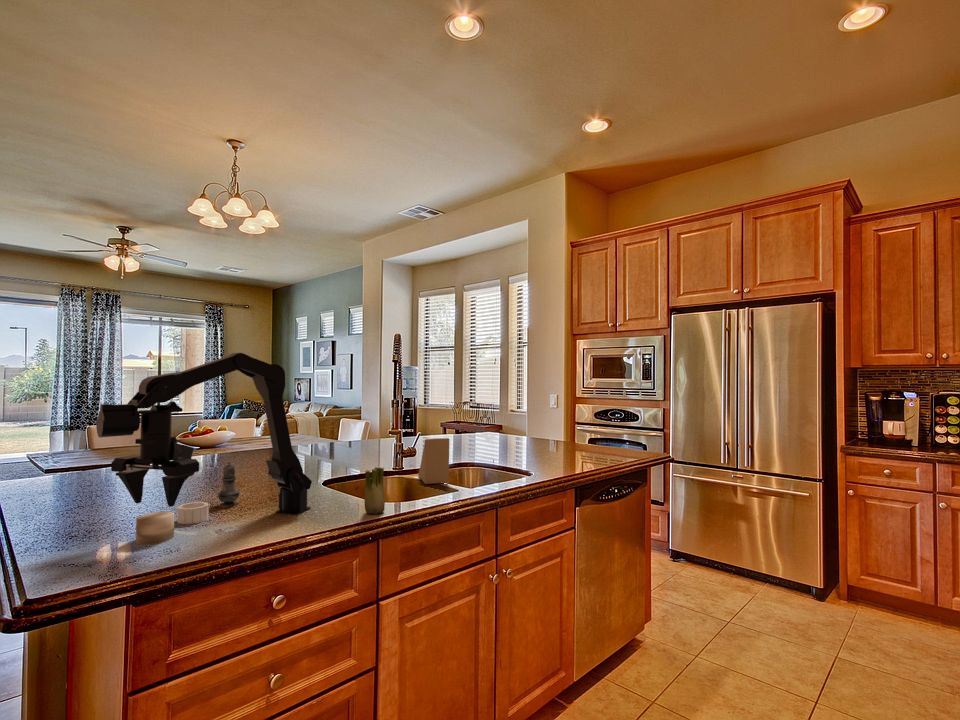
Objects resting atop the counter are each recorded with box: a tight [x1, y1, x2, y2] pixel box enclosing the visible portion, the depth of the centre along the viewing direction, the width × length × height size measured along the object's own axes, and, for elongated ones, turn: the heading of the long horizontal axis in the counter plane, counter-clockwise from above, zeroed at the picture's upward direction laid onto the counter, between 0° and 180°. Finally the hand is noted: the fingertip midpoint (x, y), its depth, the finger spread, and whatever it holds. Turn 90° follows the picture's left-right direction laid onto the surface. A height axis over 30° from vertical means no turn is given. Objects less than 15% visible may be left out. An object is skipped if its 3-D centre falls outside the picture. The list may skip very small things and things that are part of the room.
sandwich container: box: [417, 437, 450, 485], centre depth 176 cm, size 9×15×15 cm, turn 16°
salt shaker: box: [216, 461, 241, 508], centre depth 140 cm, size 6×6×12 cm
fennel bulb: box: [364, 466, 386, 515], centre depth 133 cm, size 6×5×12 cm
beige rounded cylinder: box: [135, 511, 175, 545], centre depth 110 cm, size 7×7×5 cm
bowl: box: [176, 501, 210, 525], centre depth 125 cm, size 7×7×4 cm
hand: (154, 504), depth 110 cm, fingers open, 9 cm apart
